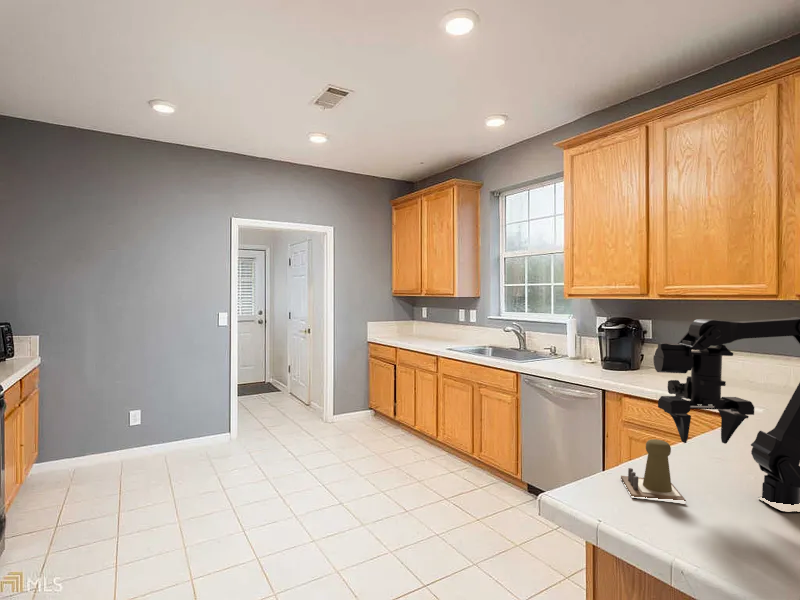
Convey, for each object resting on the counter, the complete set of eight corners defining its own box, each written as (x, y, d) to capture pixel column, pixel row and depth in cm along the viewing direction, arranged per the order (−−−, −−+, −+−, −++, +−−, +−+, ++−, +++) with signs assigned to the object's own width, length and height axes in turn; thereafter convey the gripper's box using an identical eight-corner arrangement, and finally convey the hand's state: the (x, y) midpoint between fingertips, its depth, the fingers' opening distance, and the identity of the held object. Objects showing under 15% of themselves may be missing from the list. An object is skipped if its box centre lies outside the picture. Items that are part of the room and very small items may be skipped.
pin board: (669, 484, 112) (669, 468, 112) (685, 504, 101) (686, 486, 101) (620, 479, 114) (621, 463, 114) (631, 498, 104) (632, 481, 104)
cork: (673, 486, 108) (675, 440, 108) (670, 495, 103) (671, 446, 103) (645, 479, 112) (646, 434, 111) (640, 487, 107) (641, 441, 107)
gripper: (721, 369, 112) (719, 432, 112) (645, 367, 111) (643, 431, 112) (757, 377, 101) (755, 447, 101) (673, 376, 100) (671, 446, 101)
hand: (704, 442), depth 104 cm, fingers open, 9 cm apart
